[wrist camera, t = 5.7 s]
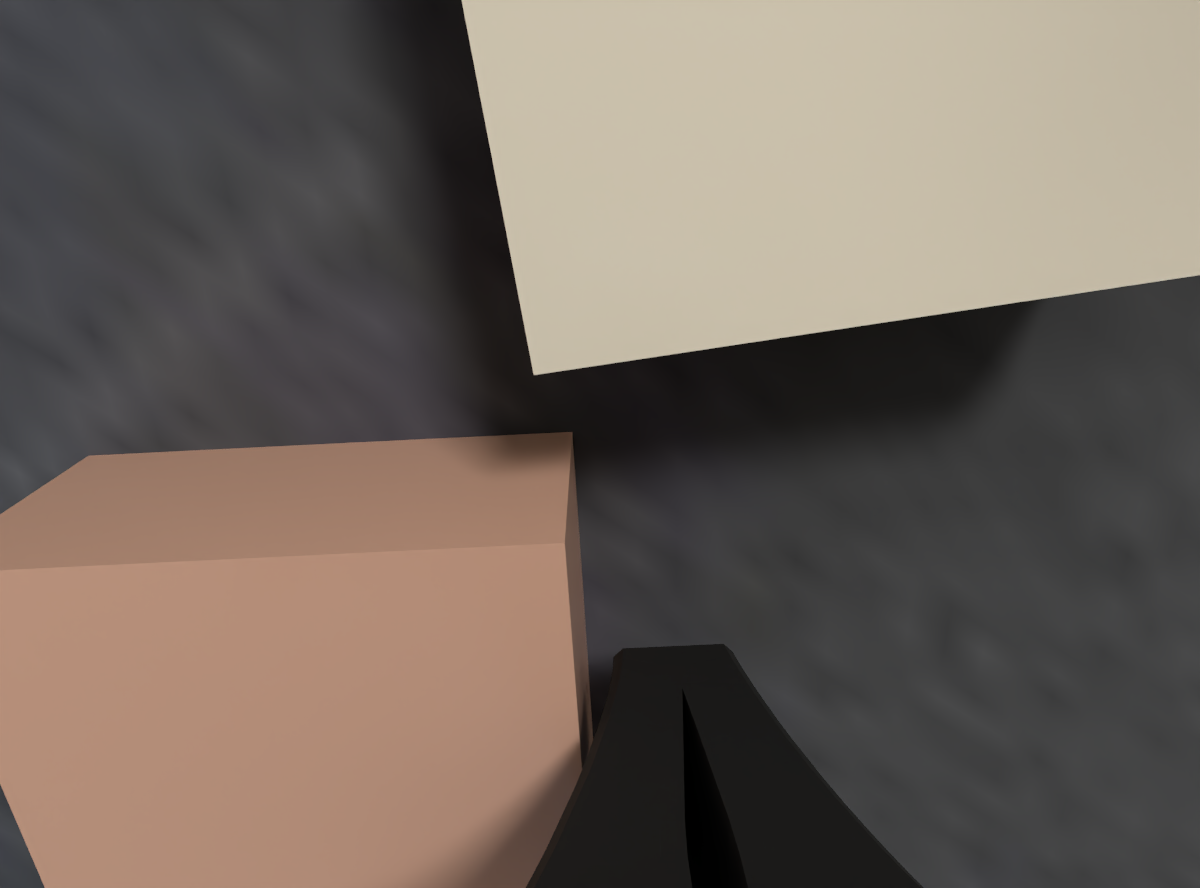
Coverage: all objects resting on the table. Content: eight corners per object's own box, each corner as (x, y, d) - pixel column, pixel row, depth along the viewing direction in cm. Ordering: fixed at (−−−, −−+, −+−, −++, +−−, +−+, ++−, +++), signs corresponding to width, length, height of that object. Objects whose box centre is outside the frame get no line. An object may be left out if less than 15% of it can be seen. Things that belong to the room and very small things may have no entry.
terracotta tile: (597, 791, 12) (598, 987, 10) (208, 808, 12) (97, 1008, 10) (572, 426, 10) (564, 542, 7) (97, 449, 10) (-90, 575, 7)
